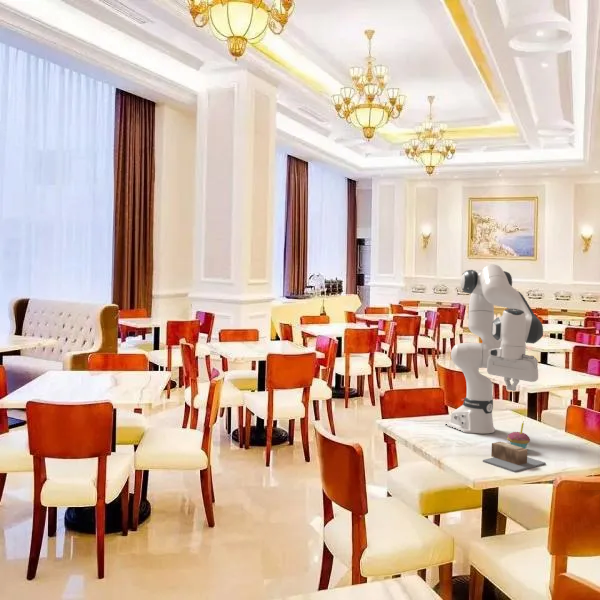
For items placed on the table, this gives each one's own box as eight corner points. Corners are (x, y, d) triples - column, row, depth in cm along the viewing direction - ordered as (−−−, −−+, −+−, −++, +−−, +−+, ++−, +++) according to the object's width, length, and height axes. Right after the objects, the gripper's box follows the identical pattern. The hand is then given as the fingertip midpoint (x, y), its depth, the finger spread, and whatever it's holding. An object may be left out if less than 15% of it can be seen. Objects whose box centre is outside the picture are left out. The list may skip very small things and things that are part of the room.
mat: (482, 461, 225) (482, 459, 225) (513, 454, 235) (513, 452, 235) (514, 472, 214) (514, 470, 214) (545, 464, 224) (545, 462, 224)
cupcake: (534, 451, 240) (535, 421, 240) (519, 454, 236) (520, 423, 235) (516, 445, 248) (517, 416, 247) (502, 448, 243) (503, 418, 243)
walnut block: (491, 442, 230) (519, 450, 220) (500, 440, 232) (527, 448, 223) (491, 456, 230) (518, 465, 220) (499, 454, 233) (527, 463, 223)
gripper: (542, 356, 218) (541, 394, 218) (495, 349, 235) (494, 384, 235) (532, 356, 214) (530, 395, 215) (485, 350, 231) (483, 386, 232)
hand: (511, 390), depth 225 cm, fingers closed
